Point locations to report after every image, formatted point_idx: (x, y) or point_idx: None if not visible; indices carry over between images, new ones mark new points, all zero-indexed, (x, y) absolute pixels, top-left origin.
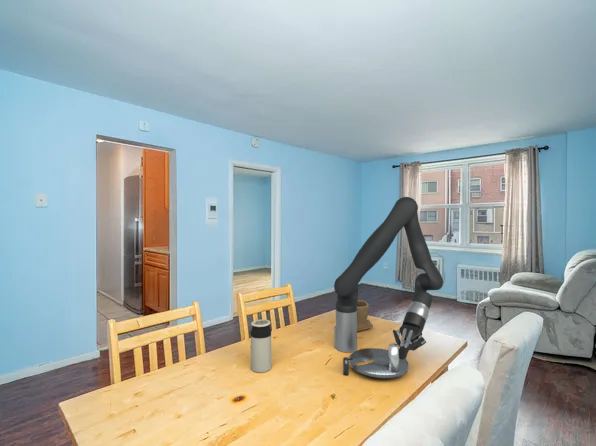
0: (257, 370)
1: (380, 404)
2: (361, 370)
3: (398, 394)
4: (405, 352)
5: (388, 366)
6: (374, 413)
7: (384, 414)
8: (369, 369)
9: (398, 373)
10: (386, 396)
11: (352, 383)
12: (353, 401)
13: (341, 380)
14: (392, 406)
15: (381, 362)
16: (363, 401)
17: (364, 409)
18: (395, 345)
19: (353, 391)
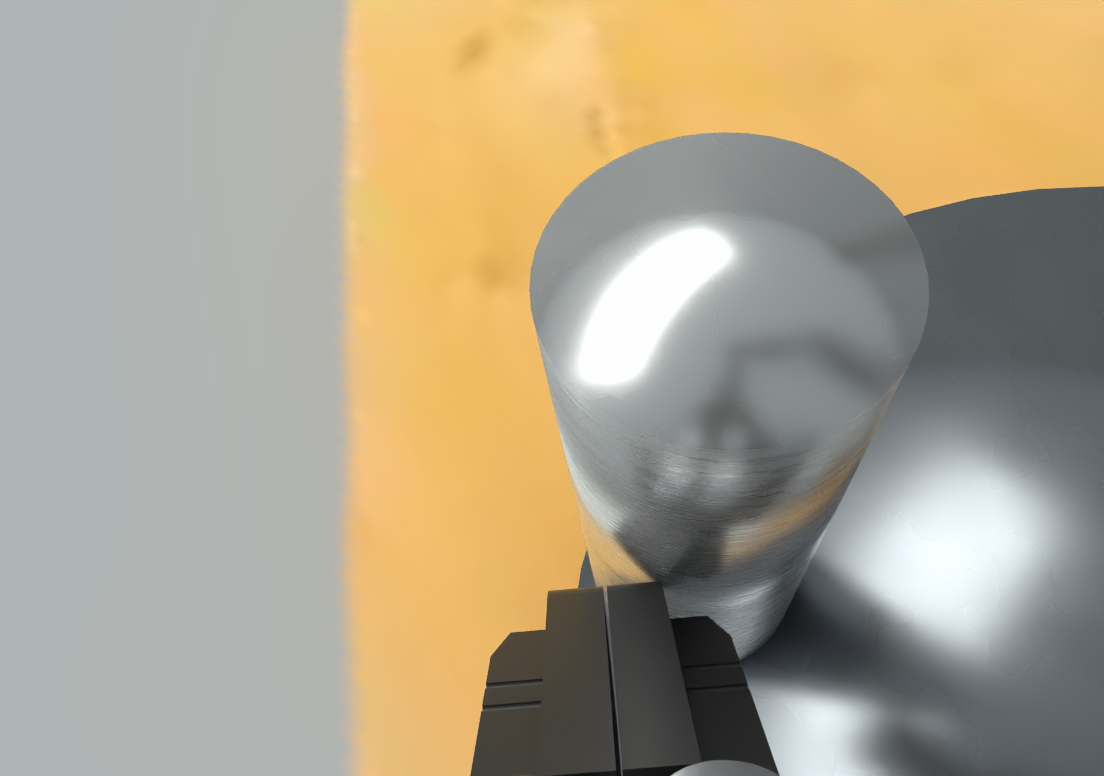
0: None
1: (464, 135)
2: (1004, 205)
3: (433, 382)
4: (487, 718)
5: (862, 617)
6: (426, 34)
7: (360, 76)
8: (945, 276)
9: (584, 573)
10: (504, 259)
11: (935, 165)
12: (656, 10)
13: (1062, 118)
14: (367, 188)
15: (1094, 657)
16: (599, 63)
17: (515, 12)
18: (670, 308)
19: (788, 89)
